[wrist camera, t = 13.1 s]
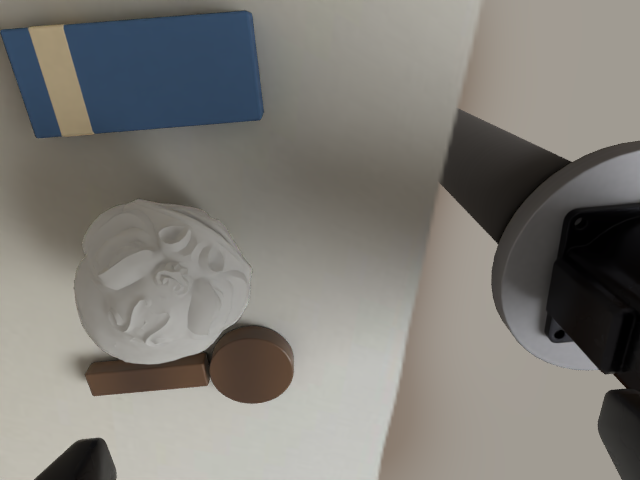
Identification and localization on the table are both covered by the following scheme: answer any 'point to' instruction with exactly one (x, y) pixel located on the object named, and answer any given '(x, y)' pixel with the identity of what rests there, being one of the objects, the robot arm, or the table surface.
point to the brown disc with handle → (208, 369)
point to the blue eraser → (137, 73)
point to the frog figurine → (159, 281)
